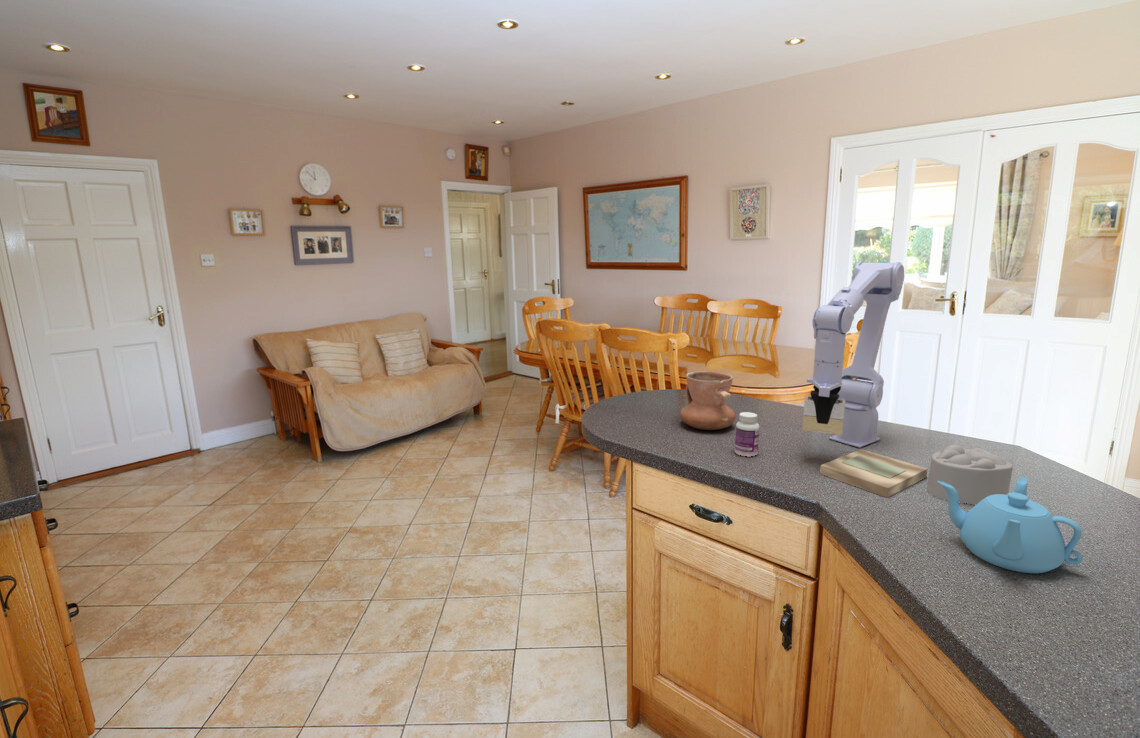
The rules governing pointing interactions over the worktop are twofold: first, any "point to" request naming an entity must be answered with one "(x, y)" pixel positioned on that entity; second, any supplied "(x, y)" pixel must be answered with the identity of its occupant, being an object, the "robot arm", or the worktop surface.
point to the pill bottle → (747, 435)
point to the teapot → (1014, 531)
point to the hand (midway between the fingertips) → (823, 419)
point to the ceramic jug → (707, 401)
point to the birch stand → (874, 472)
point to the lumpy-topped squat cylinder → (969, 474)
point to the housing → (834, 422)
